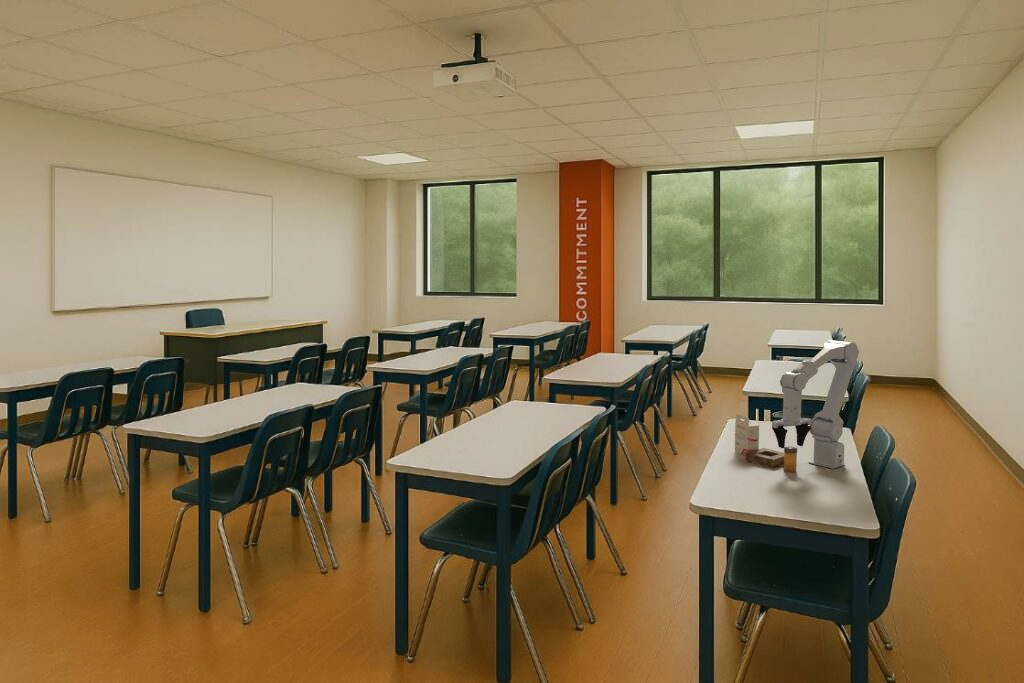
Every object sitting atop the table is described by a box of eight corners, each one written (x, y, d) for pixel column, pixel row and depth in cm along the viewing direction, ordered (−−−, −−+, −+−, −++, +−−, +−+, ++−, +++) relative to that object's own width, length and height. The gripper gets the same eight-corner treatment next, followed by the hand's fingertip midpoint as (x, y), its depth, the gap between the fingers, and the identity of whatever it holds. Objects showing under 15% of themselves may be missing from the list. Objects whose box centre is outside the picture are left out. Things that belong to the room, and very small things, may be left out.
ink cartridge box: (759, 456, 263) (760, 417, 262) (747, 457, 262) (748, 418, 260) (745, 450, 271) (746, 412, 270) (733, 451, 270) (734, 413, 268)
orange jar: (798, 471, 245) (799, 448, 244) (792, 473, 242) (792, 450, 241) (787, 468, 248) (788, 445, 247) (780, 470, 245) (781, 447, 244)
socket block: (790, 462, 255) (790, 454, 255) (773, 468, 248) (773, 459, 248) (763, 455, 264) (763, 447, 263) (745, 461, 257) (745, 453, 257)
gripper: (781, 411, 236) (780, 451, 238) (818, 408, 241) (816, 447, 242) (768, 407, 243) (767, 446, 245) (803, 404, 248) (802, 442, 249)
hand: (790, 446), depth 244 cm, fingers open, 7 cm apart
